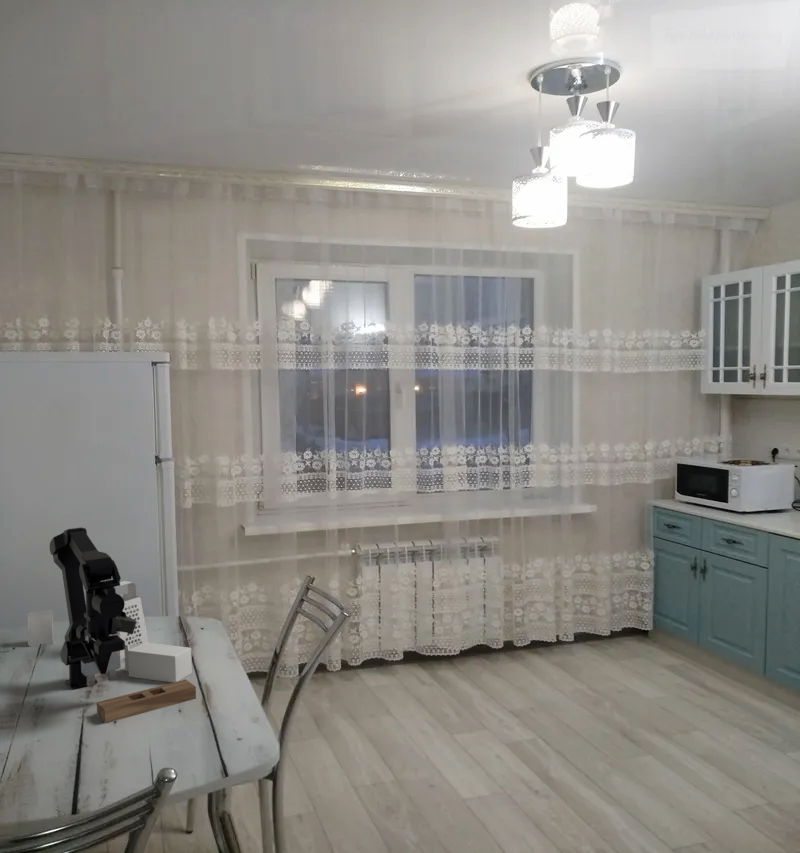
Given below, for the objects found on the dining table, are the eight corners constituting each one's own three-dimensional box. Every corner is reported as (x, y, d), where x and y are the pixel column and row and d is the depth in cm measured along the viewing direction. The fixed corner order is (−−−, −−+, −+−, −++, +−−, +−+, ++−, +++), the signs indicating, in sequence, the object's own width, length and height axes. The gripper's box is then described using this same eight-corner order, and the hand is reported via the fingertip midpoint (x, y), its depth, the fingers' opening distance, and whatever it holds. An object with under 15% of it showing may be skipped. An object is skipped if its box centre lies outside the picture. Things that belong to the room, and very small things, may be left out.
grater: (149, 648, 230) (147, 581, 229) (120, 659, 221) (117, 590, 220) (126, 642, 236) (124, 577, 235) (96, 653, 227) (94, 585, 226)
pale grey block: (52, 644, 236) (51, 611, 235) (28, 647, 233) (26, 614, 233) (53, 640, 239) (52, 608, 239) (29, 643, 237) (28, 610, 236)
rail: (97, 714, 184) (96, 702, 184) (186, 691, 198) (185, 679, 198) (105, 723, 179) (104, 710, 179) (195, 698, 193) (195, 686, 193)
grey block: (81, 684, 189) (81, 660, 189) (116, 676, 194) (116, 652, 194) (85, 688, 186) (84, 663, 186) (121, 679, 192) (120, 655, 191)
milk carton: (175, 656, 203) (115, 649, 209) (176, 683, 203) (116, 675, 209) (191, 647, 209) (133, 640, 216) (192, 673, 210) (134, 666, 216)
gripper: (145, 610, 187) (147, 674, 188) (119, 595, 202) (121, 654, 202) (98, 620, 180) (100, 686, 181) (74, 603, 195) (76, 664, 196)
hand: (101, 672), depth 190 cm, fingers closed on grey block, 3 cm apart
